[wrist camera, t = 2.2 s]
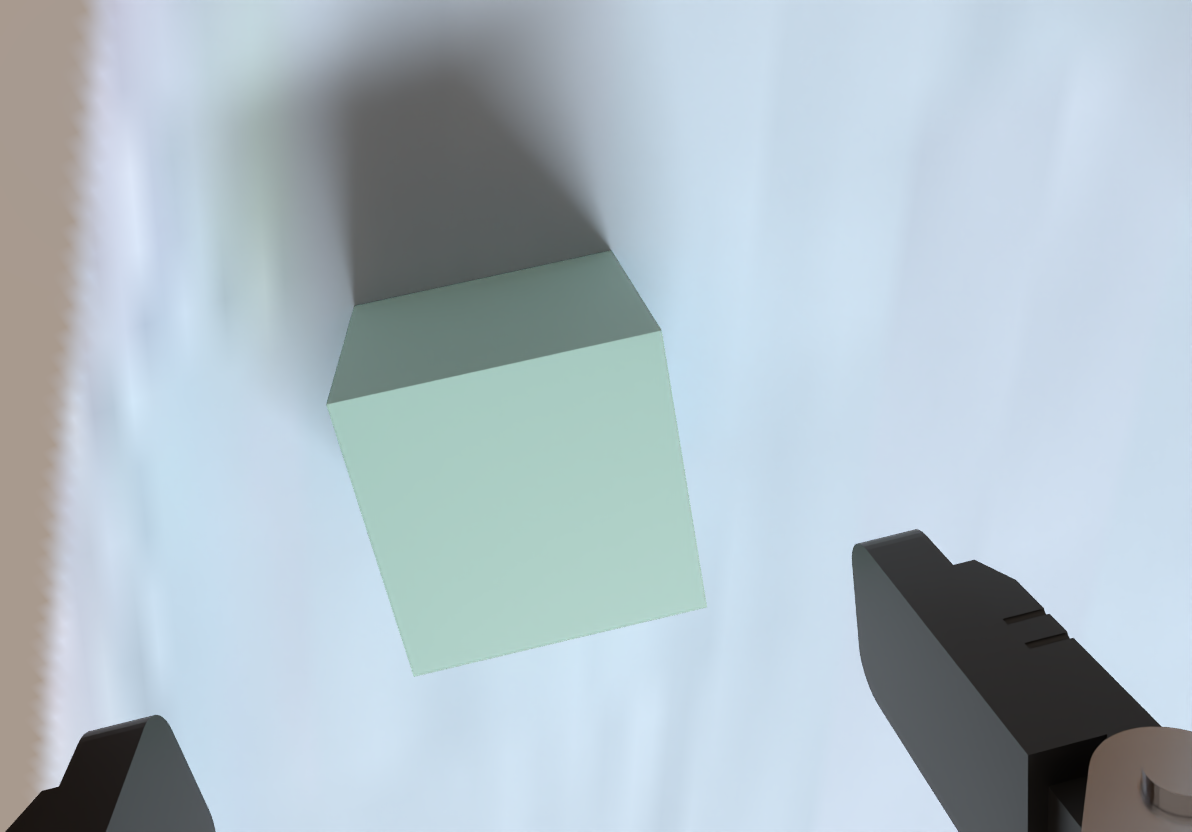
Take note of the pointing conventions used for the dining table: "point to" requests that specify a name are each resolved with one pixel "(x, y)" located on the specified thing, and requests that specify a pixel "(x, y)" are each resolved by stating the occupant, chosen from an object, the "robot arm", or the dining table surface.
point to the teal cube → (517, 461)
